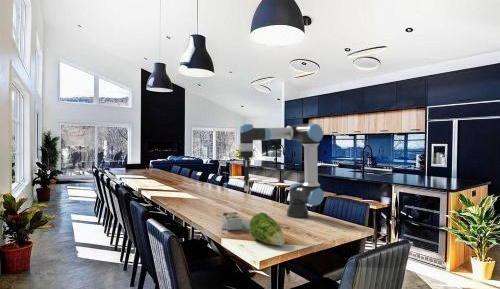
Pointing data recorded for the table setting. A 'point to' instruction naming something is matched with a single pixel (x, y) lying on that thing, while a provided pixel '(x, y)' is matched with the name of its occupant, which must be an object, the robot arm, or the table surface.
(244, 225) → the mat
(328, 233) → the table surface
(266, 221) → the lettuce
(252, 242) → the table surface
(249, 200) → the table surface
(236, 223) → the coffee box
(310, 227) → the table surface
